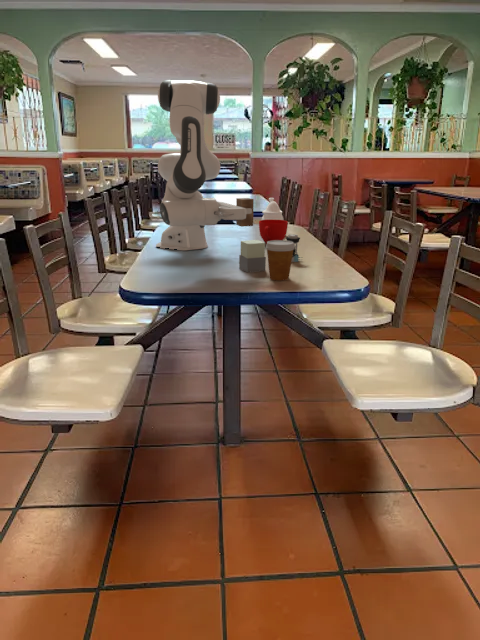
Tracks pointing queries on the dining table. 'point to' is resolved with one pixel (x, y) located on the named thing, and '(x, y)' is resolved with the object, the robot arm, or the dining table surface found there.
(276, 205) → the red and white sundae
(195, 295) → the dining table surface
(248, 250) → the tower top block
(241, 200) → the walnut post
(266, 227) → the ceramic cup
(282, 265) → the disposable coffee cup
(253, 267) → the tower base block
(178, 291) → the dining table surface
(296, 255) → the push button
